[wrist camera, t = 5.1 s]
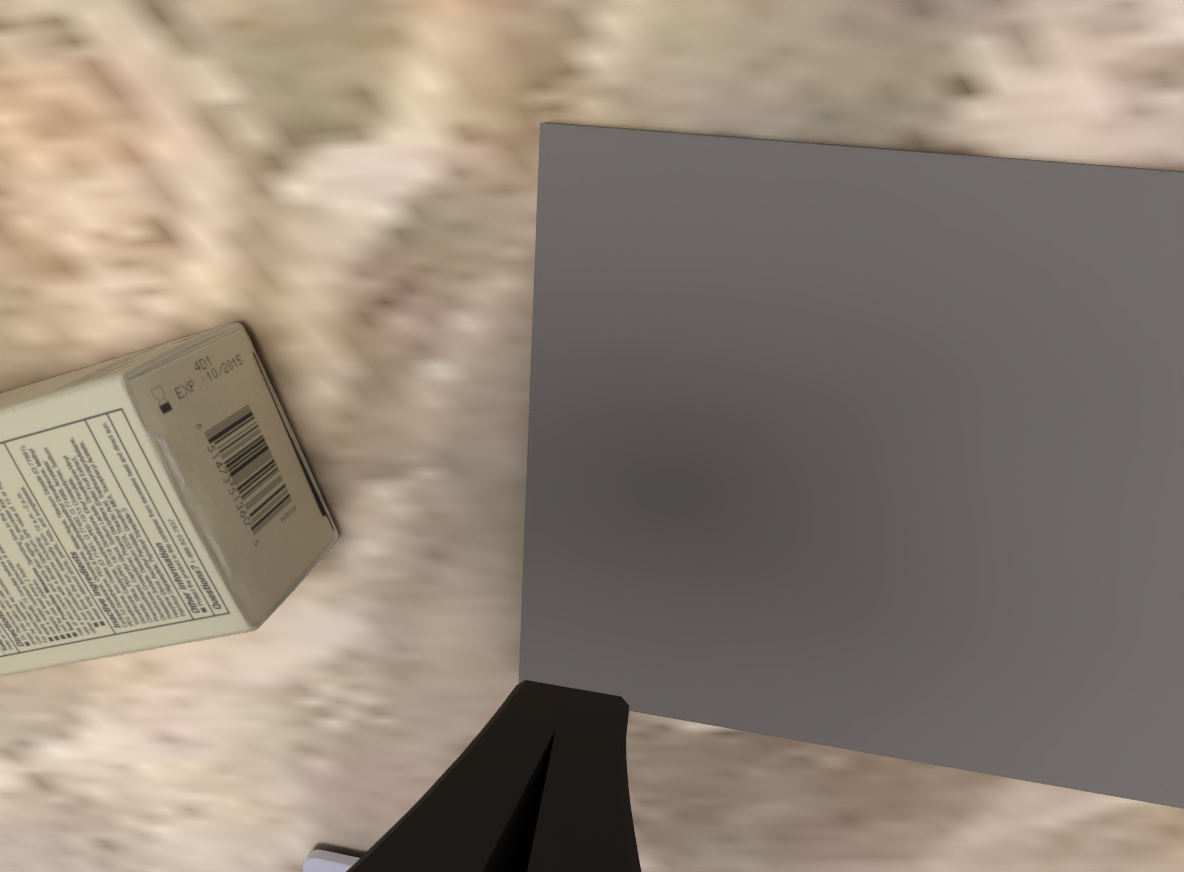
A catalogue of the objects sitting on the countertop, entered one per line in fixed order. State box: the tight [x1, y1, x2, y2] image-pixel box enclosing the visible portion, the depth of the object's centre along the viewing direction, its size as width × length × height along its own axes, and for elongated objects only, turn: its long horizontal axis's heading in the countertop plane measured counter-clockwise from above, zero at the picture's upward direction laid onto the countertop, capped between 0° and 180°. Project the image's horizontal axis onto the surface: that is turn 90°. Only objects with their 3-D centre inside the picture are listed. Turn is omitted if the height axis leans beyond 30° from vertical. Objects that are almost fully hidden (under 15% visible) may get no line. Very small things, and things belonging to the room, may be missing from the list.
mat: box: [519, 122, 1184, 809], centre depth 18 cm, size 14×17×1 cm
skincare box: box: [0, 322, 338, 676], centre depth 20 cm, size 6×4×12 cm
